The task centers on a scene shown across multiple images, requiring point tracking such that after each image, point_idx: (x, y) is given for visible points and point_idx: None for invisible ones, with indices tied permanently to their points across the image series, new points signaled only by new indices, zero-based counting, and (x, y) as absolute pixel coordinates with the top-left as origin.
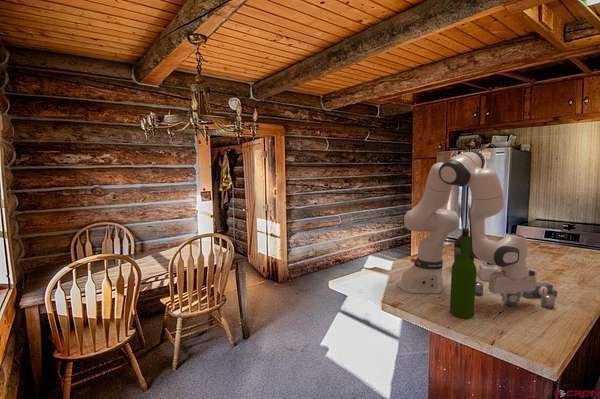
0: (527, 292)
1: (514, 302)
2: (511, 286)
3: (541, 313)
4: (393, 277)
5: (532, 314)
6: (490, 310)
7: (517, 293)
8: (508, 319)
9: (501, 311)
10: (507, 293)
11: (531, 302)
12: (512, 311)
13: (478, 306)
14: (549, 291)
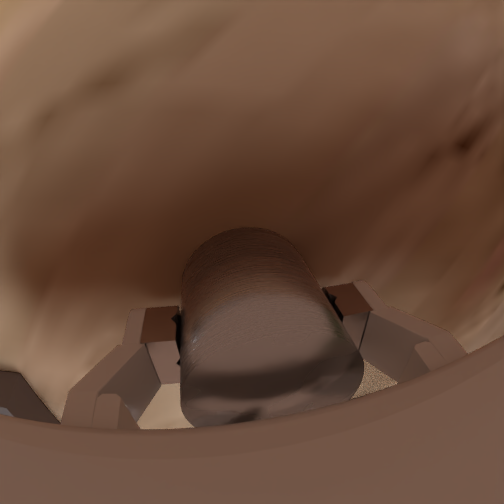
0: (9, 415)
1: (262, 260)
2: (462, 502)
3: (34, 60)
4: None
5: (163, 21)
6: (489, 191)
7: (136, 416)
8: (478, 28)
9: (446, 154)
10: (325, 403)
11: (8, 318)
12: (357, 127)
13: (493, 258)
14: None
